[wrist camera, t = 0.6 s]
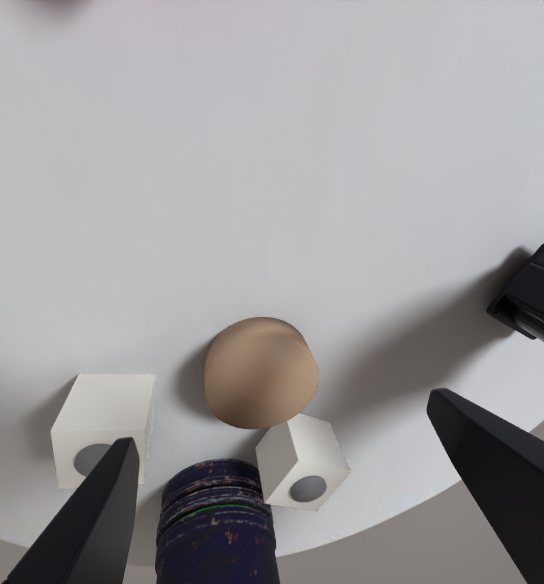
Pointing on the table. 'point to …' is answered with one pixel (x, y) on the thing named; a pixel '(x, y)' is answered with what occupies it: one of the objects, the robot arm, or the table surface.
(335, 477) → the marked cube
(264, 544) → the storage jar
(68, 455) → the marked cube
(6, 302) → the table surface
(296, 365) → the beige rounded disc
